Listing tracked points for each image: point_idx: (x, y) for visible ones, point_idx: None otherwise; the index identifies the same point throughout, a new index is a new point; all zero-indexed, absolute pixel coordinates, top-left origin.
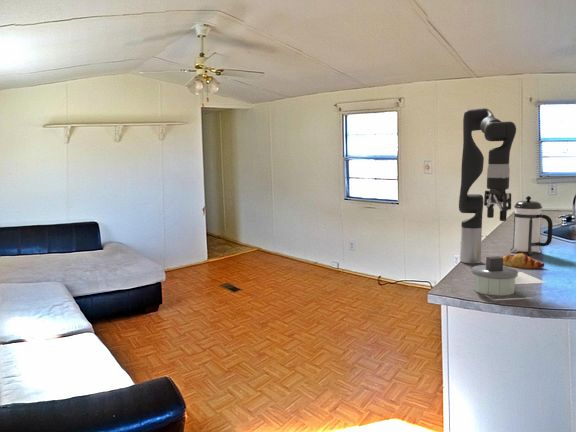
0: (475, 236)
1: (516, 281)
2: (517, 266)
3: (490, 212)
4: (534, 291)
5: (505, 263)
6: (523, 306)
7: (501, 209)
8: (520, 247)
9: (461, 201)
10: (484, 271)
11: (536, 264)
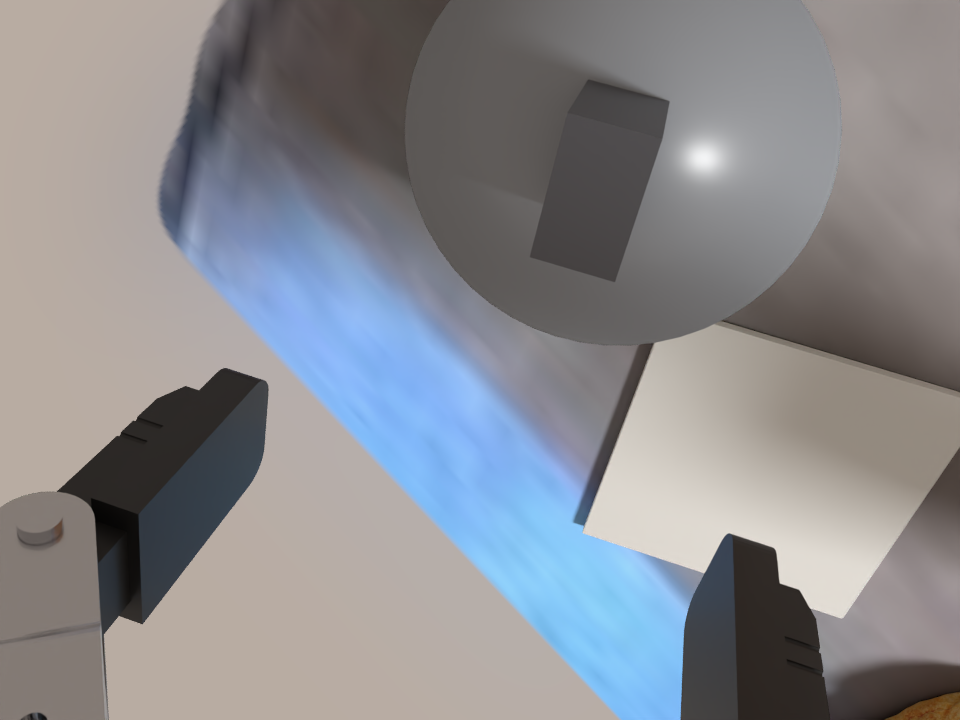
0: None
1: (694, 415)
2: (956, 702)
3: (711, 661)
4: (495, 348)
5: None
6: (267, 19)
7: (17, 513)
8: None
9: None
10: (615, 22)
11: None
